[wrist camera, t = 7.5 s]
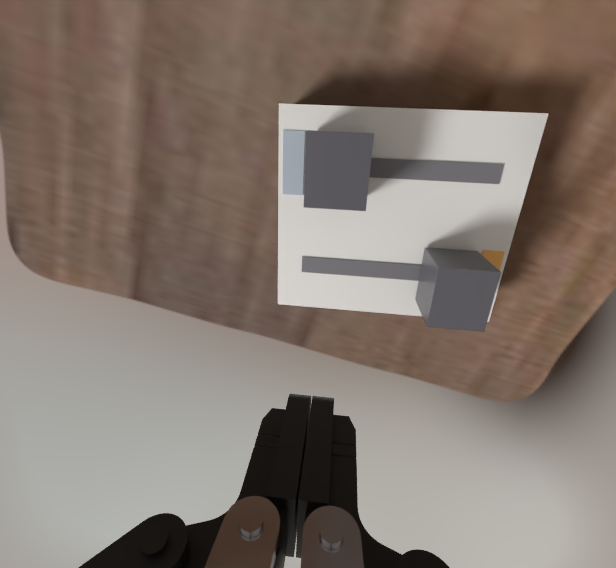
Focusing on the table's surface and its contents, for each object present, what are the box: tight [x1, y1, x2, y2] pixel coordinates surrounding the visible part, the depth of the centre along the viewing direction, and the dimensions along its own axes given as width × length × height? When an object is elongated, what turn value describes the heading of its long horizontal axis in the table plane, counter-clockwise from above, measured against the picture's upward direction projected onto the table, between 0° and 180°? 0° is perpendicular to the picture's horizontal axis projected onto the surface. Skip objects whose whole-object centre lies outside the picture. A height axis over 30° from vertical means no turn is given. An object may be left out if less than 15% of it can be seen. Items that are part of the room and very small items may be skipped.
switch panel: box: [278, 104, 549, 322], centre depth 25 cm, size 16×14×4 cm
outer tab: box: [415, 247, 501, 332], centre depth 22 cm, size 4×4×4 cm
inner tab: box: [304, 130, 374, 211], centre depth 20 cm, size 4×4×4 cm
